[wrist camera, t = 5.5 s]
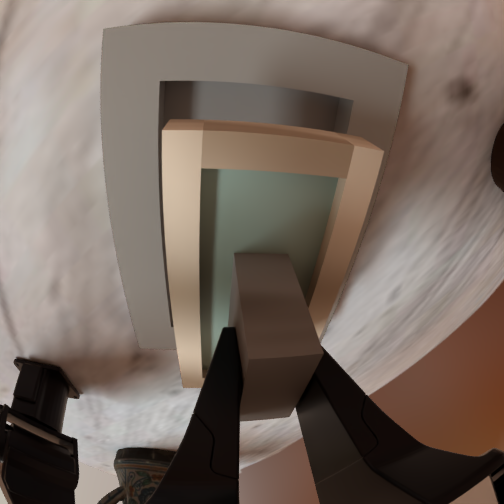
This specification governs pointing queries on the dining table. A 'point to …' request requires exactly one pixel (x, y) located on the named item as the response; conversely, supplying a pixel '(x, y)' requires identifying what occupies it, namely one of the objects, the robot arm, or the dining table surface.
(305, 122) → the grey flat frame
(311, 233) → the picture frame
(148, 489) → the beer stein
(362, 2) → the dining table surface
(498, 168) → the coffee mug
